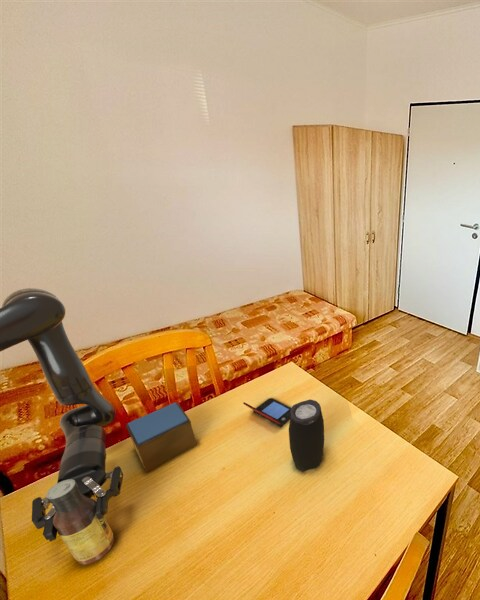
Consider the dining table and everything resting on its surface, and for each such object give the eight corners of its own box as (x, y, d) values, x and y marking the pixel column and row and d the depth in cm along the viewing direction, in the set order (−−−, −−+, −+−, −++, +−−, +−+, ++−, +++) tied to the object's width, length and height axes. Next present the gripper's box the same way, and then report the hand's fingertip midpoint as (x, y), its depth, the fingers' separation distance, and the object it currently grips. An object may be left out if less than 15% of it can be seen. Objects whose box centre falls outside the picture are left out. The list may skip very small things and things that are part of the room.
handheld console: (297, 413, 107) (296, 396, 104) (272, 435, 98) (270, 417, 95) (270, 399, 112) (268, 382, 108) (244, 419, 103) (241, 401, 100)
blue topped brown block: (146, 473, 84) (136, 447, 80) (135, 450, 89) (125, 424, 85) (197, 446, 92) (190, 420, 88) (184, 426, 98) (177, 402, 94)
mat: (138, 444, 80) (137, 443, 80) (128, 424, 85) (127, 423, 85) (187, 420, 88) (187, 419, 88) (175, 403, 93) (175, 402, 93)
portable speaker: (285, 465, 89) (280, 413, 81) (308, 442, 97) (306, 392, 89) (308, 480, 86) (305, 428, 78) (330, 455, 93) (330, 405, 85)
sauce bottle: (122, 542, 69) (93, 483, 61) (86, 573, 64) (49, 512, 56) (104, 527, 72) (74, 468, 63) (69, 555, 67) (31, 495, 58)
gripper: (31, 468, 67) (12, 539, 56) (119, 437, 76) (119, 494, 64) (45, 491, 70) (29, 563, 59) (128, 459, 79) (129, 516, 67)
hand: (76, 526), depth 61 cm, fingers closed on sauce bottle, 6 cm apart
